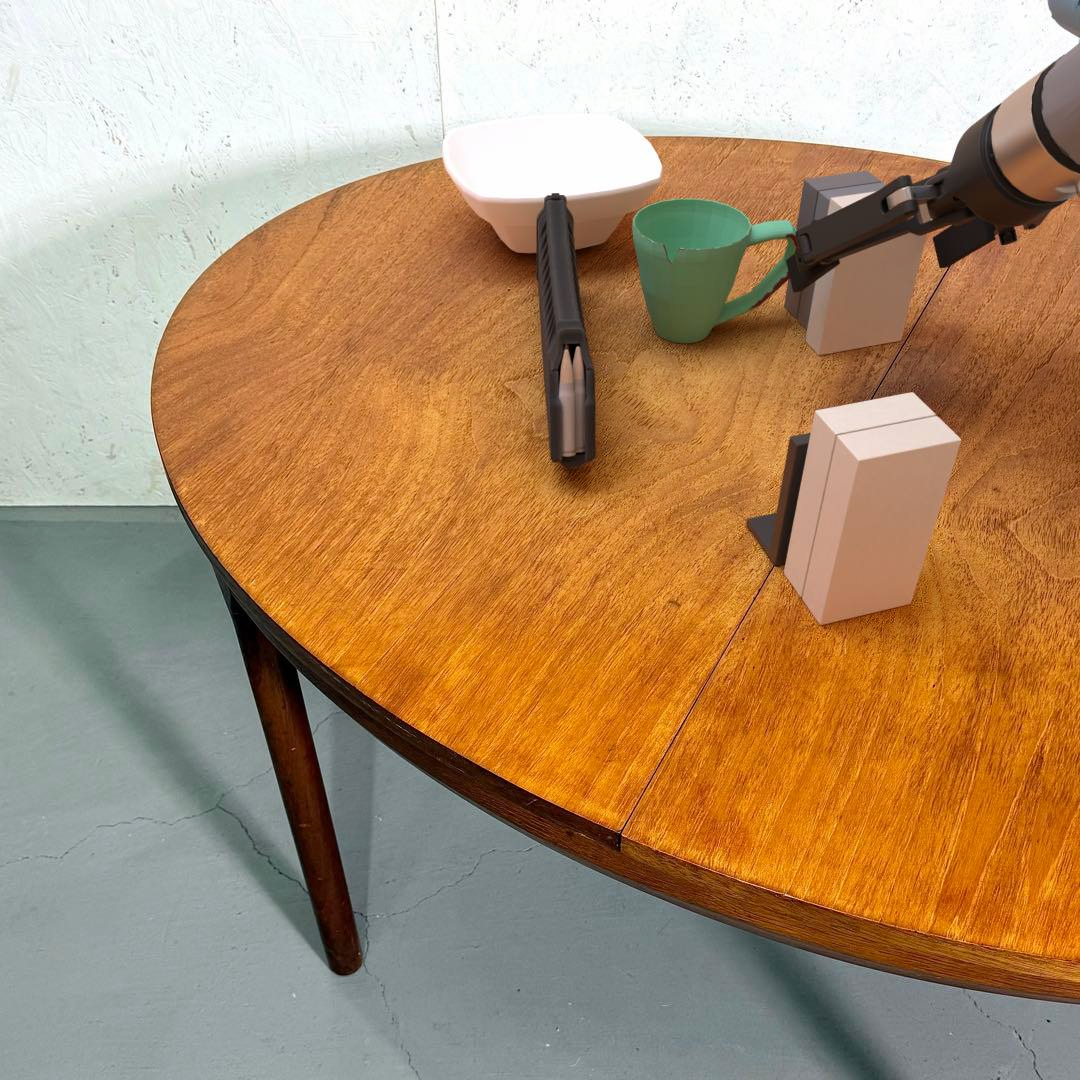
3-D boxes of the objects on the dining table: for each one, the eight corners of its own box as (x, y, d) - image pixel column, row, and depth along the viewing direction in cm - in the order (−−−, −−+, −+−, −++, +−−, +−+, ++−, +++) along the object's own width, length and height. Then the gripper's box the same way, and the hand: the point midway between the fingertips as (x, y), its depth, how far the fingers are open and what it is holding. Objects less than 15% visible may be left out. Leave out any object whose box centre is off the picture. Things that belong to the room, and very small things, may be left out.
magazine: (534, 186, 96) (547, 237, 69) (570, 185, 96) (597, 236, 69) (538, 371, 103) (550, 484, 76) (571, 370, 103) (596, 483, 76)
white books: (835, 505, 76) (871, 346, 67) (914, 603, 68) (966, 438, 60) (745, 524, 74) (770, 364, 66) (816, 626, 67) (854, 461, 58)
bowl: (469, 294, 99) (464, 207, 94) (434, 204, 115) (427, 124, 109) (678, 269, 103) (686, 183, 97) (617, 185, 118) (620, 106, 112)
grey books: (842, 296, 99) (867, 170, 91) (870, 323, 95) (899, 193, 87) (783, 306, 97) (803, 178, 89) (809, 333, 94) (833, 203, 86)
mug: (639, 362, 90) (646, 253, 84) (617, 306, 98) (622, 201, 91) (806, 349, 92) (825, 240, 85) (772, 294, 99) (787, 190, 92)
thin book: (886, 327, 94) (919, 184, 86) (901, 340, 93) (936, 197, 84) (804, 341, 93) (830, 197, 84) (818, 355, 91) (845, 210, 82)
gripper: (876, 232, 64) (740, 331, 85) (1214, 181, 70) (1008, 285, 90) (848, 113, 64) (719, 240, 85) (1186, 71, 70) (987, 200, 91)
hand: (867, 264), depth 88 cm, fingers open, 13 cm apart
